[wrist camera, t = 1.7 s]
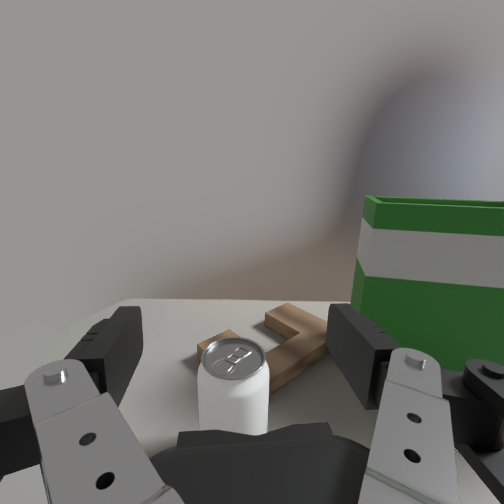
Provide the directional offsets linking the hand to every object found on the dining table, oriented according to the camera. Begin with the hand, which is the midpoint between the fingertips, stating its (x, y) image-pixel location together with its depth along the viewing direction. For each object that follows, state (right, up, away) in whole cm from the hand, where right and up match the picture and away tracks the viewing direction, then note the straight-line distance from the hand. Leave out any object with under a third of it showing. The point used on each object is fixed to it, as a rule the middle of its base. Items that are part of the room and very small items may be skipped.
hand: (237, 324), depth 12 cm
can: (-1, -18, +17) cm, 24 cm away
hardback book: (+24, -14, +30) cm, 40 cm away
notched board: (+4, -12, +32) cm, 35 cm away
